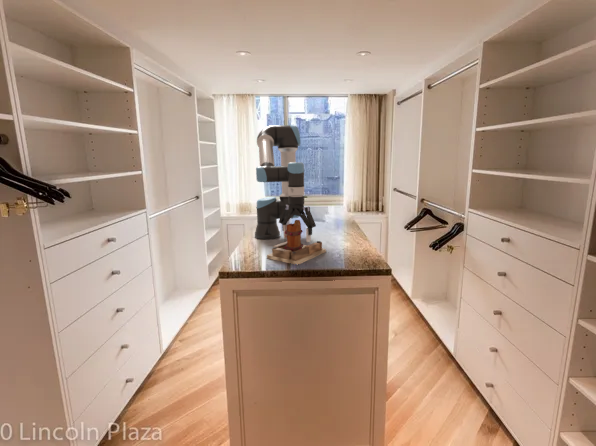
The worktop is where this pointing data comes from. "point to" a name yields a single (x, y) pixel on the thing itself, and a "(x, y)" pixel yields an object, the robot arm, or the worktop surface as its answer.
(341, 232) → the worktop surface
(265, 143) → the robot arm
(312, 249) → the leg
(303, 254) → the seat
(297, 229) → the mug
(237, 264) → the worktop surface
